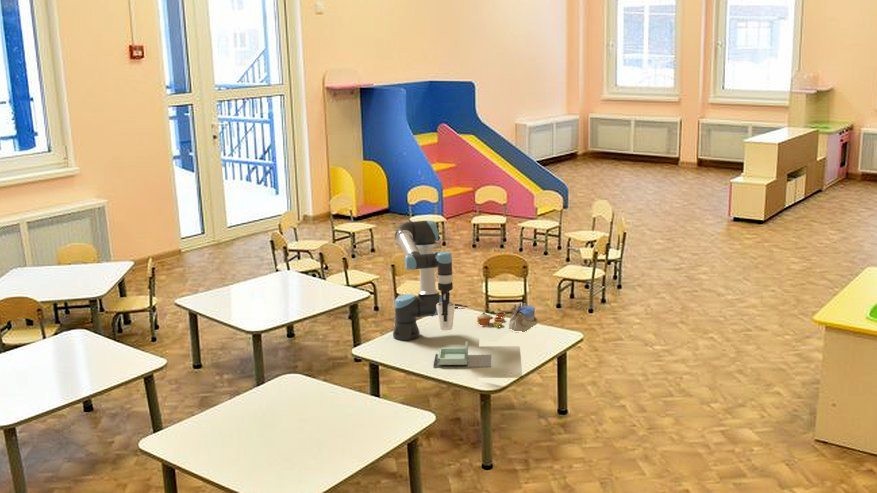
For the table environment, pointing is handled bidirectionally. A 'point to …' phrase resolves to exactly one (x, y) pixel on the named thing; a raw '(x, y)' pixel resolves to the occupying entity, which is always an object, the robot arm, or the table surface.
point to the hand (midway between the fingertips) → (446, 324)
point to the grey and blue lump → (522, 318)
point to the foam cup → (450, 315)
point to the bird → (461, 305)
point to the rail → (468, 362)
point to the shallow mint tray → (453, 356)
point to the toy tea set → (485, 318)
